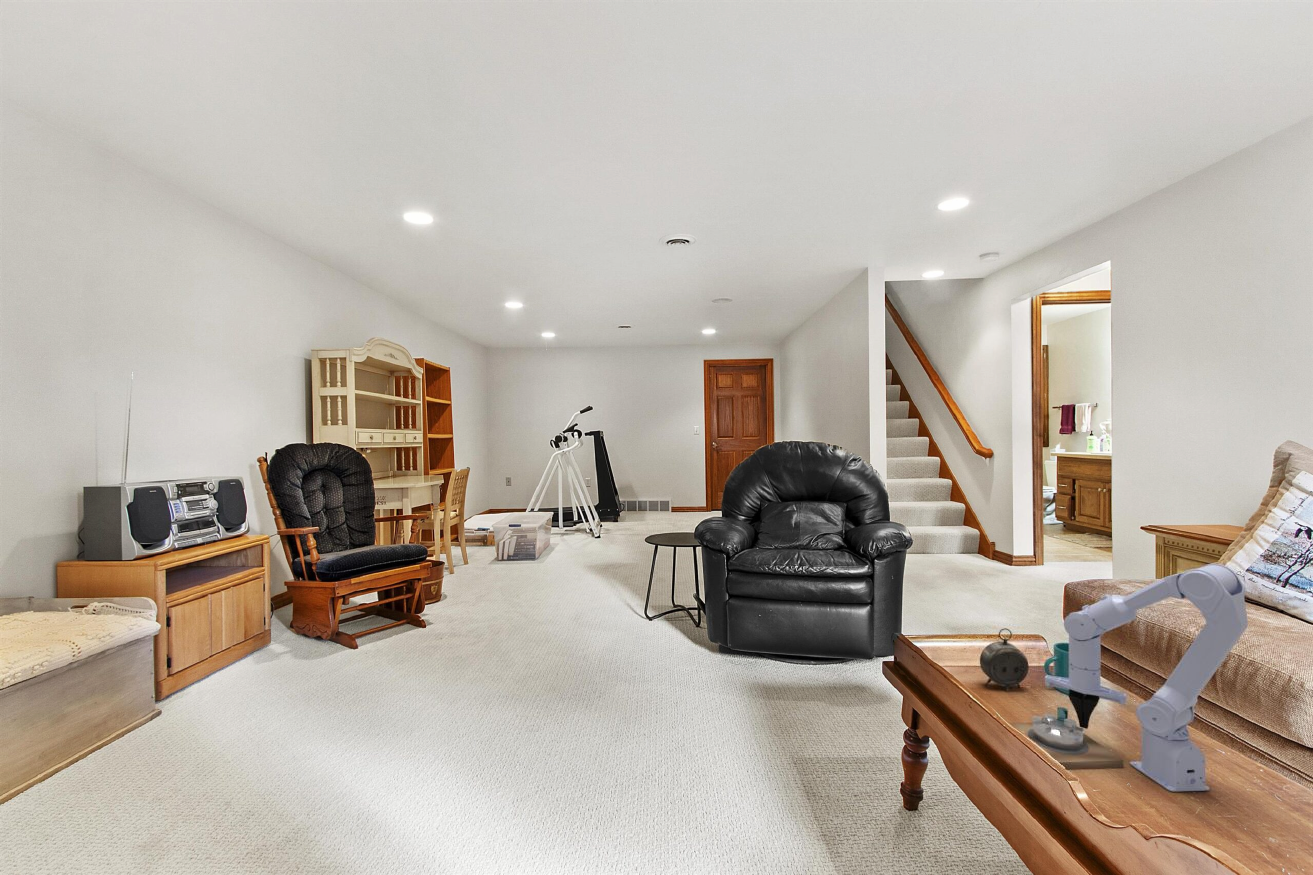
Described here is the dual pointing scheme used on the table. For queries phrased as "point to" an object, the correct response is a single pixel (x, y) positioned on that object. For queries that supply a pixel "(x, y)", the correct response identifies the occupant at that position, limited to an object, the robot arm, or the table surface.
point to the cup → (1059, 663)
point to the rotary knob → (1058, 730)
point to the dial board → (1076, 752)
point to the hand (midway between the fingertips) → (1084, 726)
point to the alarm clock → (1004, 663)
